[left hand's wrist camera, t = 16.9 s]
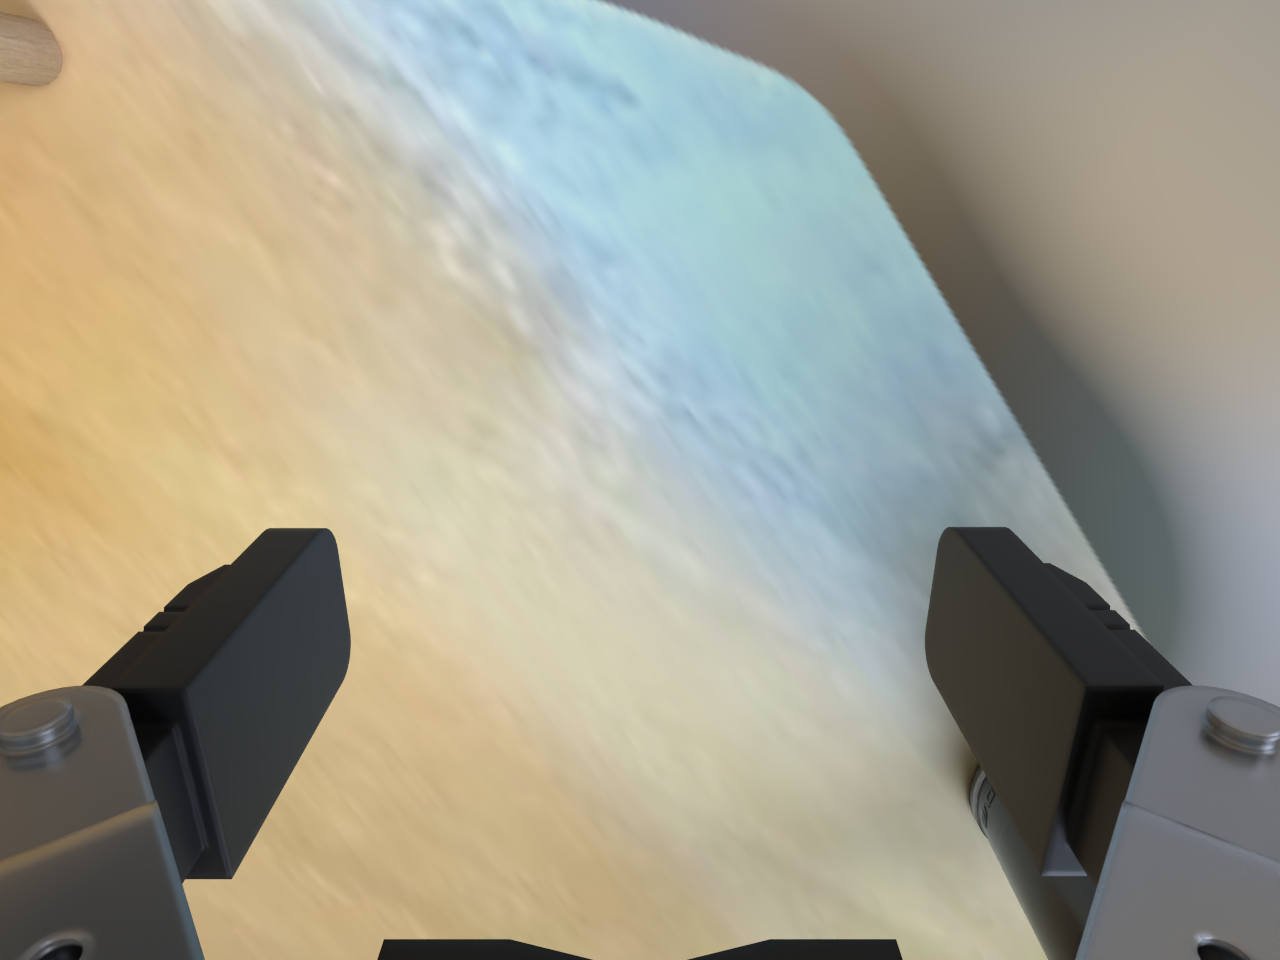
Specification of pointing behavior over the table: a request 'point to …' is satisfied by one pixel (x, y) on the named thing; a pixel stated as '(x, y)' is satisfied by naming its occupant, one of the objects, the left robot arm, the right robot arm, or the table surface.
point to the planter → (27, 51)
